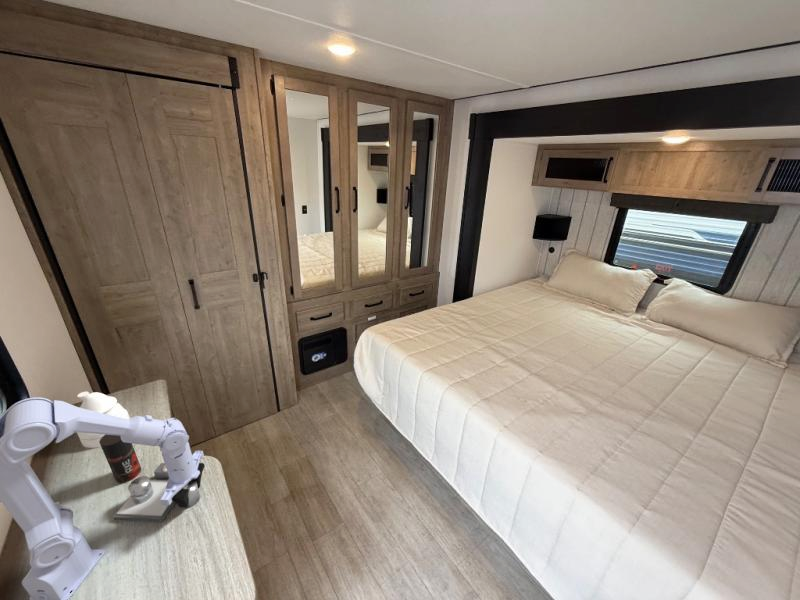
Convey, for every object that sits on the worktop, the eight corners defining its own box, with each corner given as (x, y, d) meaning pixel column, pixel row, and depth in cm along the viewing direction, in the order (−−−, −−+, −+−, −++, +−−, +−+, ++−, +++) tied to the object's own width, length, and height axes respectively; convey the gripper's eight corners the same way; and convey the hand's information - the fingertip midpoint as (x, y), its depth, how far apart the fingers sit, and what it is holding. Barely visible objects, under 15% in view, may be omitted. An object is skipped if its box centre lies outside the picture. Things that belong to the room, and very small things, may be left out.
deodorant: (126, 485, 89) (110, 447, 83) (110, 480, 90) (93, 442, 84) (146, 468, 94) (132, 431, 88) (130, 463, 95) (116, 426, 90)
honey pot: (98, 452, 98) (79, 408, 91) (71, 441, 102) (51, 397, 95) (141, 424, 110) (126, 383, 103) (115, 414, 113) (100, 374, 106)
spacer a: (142, 505, 82) (137, 493, 81) (129, 501, 83) (123, 488, 81) (157, 490, 86) (153, 478, 85) (144, 486, 87) (140, 474, 85)
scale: (162, 521, 81) (158, 511, 79) (114, 520, 80) (109, 509, 79) (195, 473, 94) (192, 463, 92) (153, 472, 93) (150, 461, 92)
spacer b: (194, 508, 84) (190, 495, 82) (178, 507, 84) (173, 495, 82) (203, 492, 88) (200, 480, 86) (188, 492, 88) (184, 480, 86)
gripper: (176, 488, 74) (188, 524, 79) (210, 439, 87) (218, 473, 92) (146, 487, 74) (160, 523, 79) (185, 438, 87) (195, 472, 92)
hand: (190, 496), depth 86 cm, fingers open, 5 cm apart
